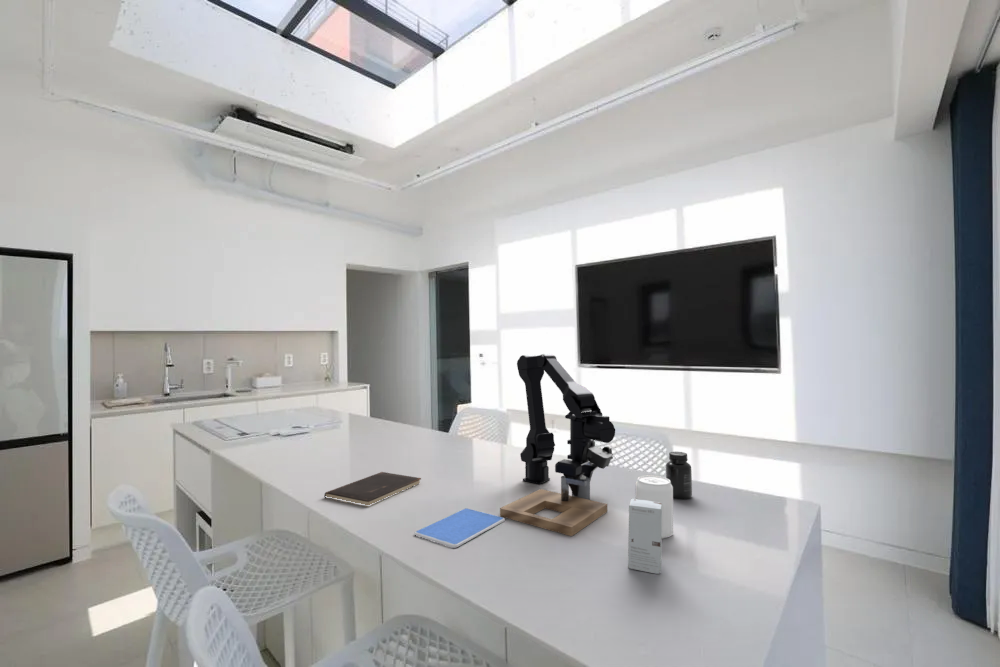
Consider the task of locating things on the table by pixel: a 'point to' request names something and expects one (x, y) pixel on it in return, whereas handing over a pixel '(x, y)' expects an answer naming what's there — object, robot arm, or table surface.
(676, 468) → the supplement bottle
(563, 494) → the hook post
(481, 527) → the tablet computer
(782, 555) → the table surface
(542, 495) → the base board
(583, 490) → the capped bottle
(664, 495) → the beverage can
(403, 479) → the hardcover book
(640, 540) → the skincare box
